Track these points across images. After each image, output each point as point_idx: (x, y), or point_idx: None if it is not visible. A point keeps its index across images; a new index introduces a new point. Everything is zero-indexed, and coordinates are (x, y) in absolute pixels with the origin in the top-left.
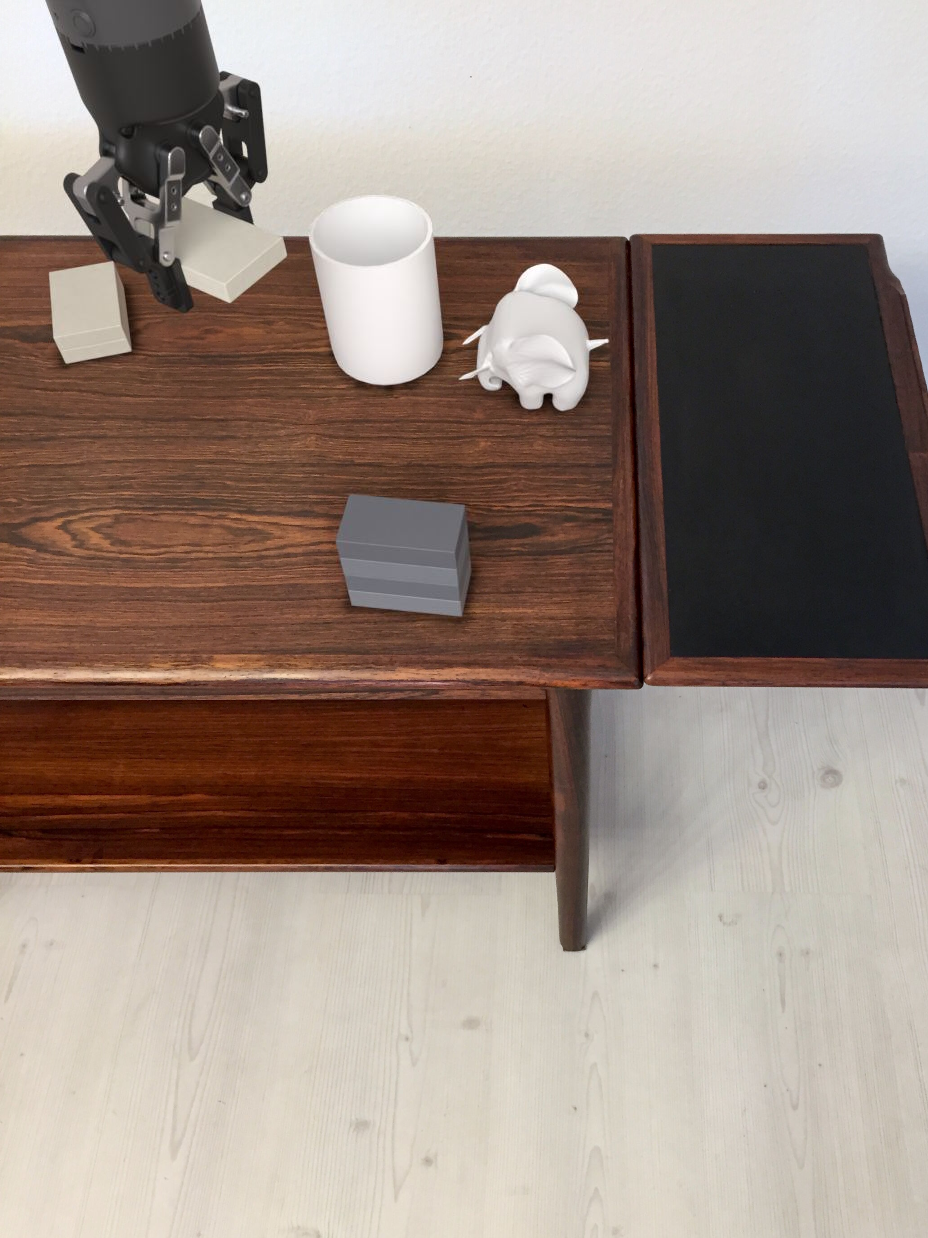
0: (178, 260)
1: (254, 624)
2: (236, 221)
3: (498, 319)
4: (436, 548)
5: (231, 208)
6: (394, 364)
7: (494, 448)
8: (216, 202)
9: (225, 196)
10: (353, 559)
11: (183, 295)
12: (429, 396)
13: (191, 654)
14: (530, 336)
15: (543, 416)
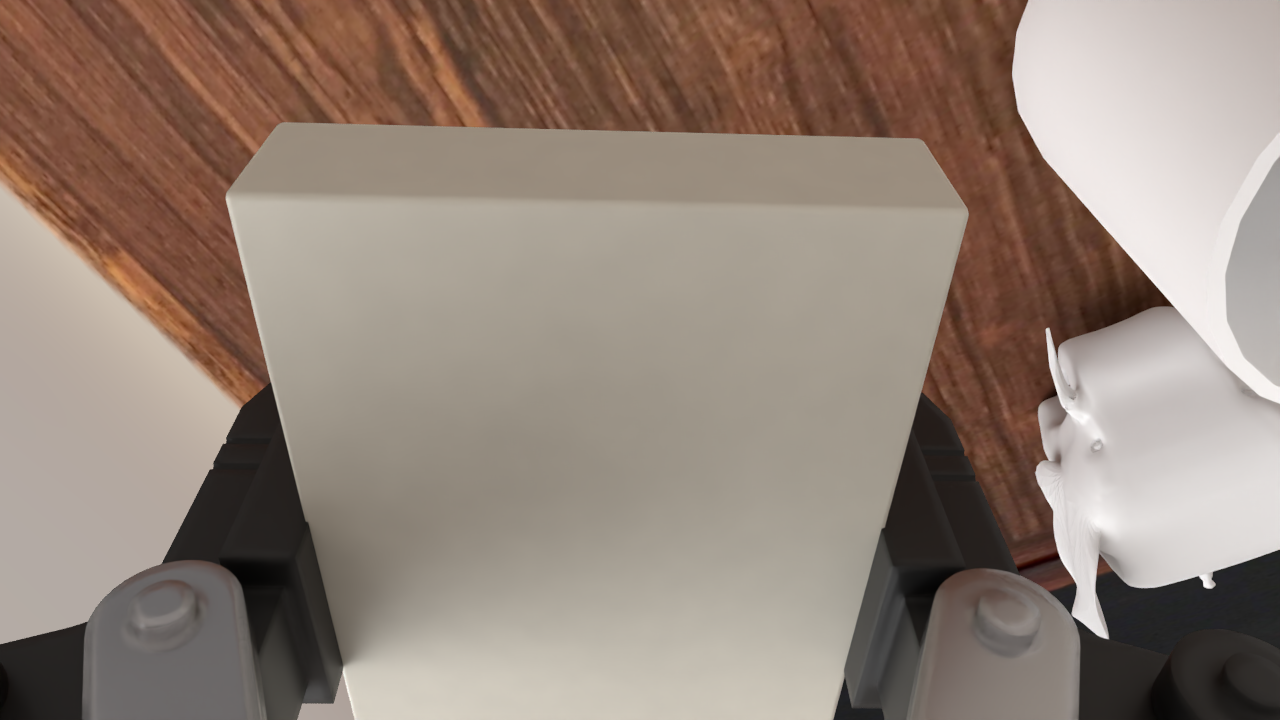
0: (322, 702)
1: (235, 270)
2: (820, 664)
3: (1204, 453)
4: None
5: (878, 665)
6: (1056, 170)
7: None
8: (898, 589)
9: (903, 712)
10: None
11: None
12: (1020, 214)
13: (84, 211)
14: (1136, 554)
15: (1029, 435)
